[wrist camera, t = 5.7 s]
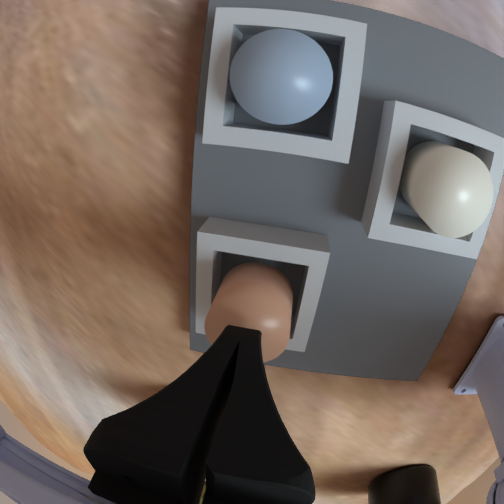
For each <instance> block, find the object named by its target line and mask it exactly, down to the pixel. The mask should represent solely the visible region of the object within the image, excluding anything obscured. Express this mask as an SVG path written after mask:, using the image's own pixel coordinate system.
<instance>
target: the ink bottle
mask: <svg viewBox="0 0 504 504" xmlns="http://www.w3.org/2000/svg"><path fill="white" fill-rule="evenodd" d="M368 504H441V501H440V494H439V487H438V481H437V475H436V471H435V469H434V468H433V467H431V466H426V465H420V466H412V467H407V468H402V469H398V470H394V471H391V472H388V473H385V474H383V475H381V476H379V477H377V478H376V479H374V480H373V481H372V482H371V483H370V485H369V487H368Z"/></svg>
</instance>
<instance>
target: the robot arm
mask: <svg viewBox="0 0 504 504" xmlns="http://www.w3.org/2000/svg"><path fill="white" fill-rule="evenodd" d="M261 336H262V333H261V331H260V330H255V329H249V328H244V327H238V326H233V325H227V326H226V327H225V328H224V330H223V331H222V333H221V334H220V335H219V337H218V338H217V339H216V340H215V342H214V343H213V344H212V345H211V346H210V348H209V349H208V350H207V351H206V352H205V353H204V354H203V355H202V356H201V357H200V358H199V359H198V360H197V361H196V362H195V363H194V364H193V365H192V366H191V367H190V368H189V369H188V370H187V371H186V372H184V373H183V374H182V375H181V376H180V377H178V378H177V379H176V380H175V381H173V382H172V383H171V384H169V385H168V386H166V387H165V388H164V389H162V390H161V391H159V392H158V393H156V394H155V395H153V396H151V397H150V398H148V399H146V400H144V401H142V402H140V403H139V404H137V405H135V406H133V407H131V408H129V409H127V410H125V411H122V412H120V413H117V414H115V415H112V416H110V417H107V418H104V419H102V421H101V422H100V423H99V424H98V426H97V427H96V428H95V430H94V431H93V432H92V434H91V436H90V438H89V439H88V441H87V443H86V445H85V447H84V450H83V451H84V454H85V456H86V458H87V459H88V461H89V462H90V464H91V465H92V466H93V468H94V469H95V473H94V475H93V477H92V479H91V481H89V480H87V479H85V478H83V477H80V476H79V475H77V474H74V473H72V472H70V471H69V470H67V469H65V468H63V467H61V466H59V465H57V464H55V463H54V462H52V461H50V460H48V459H46V458H45V457H43V456H41V455H40V454H38V453H36V452H34V451H33V450H31V449H30V448H28V447H26V446H24V445H23V444H22V443H20V442H18V441H17V440H15V439H14V438H12V437H11V436H9V435H8V434H7V433H6V432H5V431H4V429H3V428H2V426H1V425H0V491H2V492H3V493H4V494H6V495H7V496H8V497H10V498H11V499H12V500H14V501H15V502H17V503H18V504H199V503H200V499H201V495H202V491H203V487H204V483H205V478H206V490H205V494H204V497H203V501H202V504H312V503H313V502H314V500H315V485H314V480H313V476H312V472H311V469H310V466H309V465H308V463H307V462H306V461H305V459H304V458H303V456H302V455H301V453H300V452H299V450H298V449H297V447H296V446H295V444H294V442H293V441H292V439H291V437H290V435H289V433H288V431H287V429H286V427H285V425H284V424H283V422H282V420H281V417H280V415H279V413H278V410H277V408H276V405H275V403H274V400H273V397H272V394H271V391H270V388H269V384H268V381H267V377H266V373H265V368H264V363H263V357H262V348H261ZM453 392H454V394H478V396H479V399H480V402H481V404H482V407H483V409H484V412H485V415H486V418H487V421H488V423H489V426H490V429H491V432H492V435H493V438H494V441H495V444H496V448H497V451H498V454H499V458H500V461H501V465H499V466H498V467H497V468H496V469H495V470H494V473H495V477H496V481H495V482H494V483H493V484H492V486H491V487H490V490H489V493H488V496H487V503H486V504H504V316H499V317H497V318H496V319H495V321H494V323H493V325H492V326H491V328H490V330H489V332H488V334H487V336H486V337H485V339H484V341H483V343H482V344H481V346H480V348H479V349H478V351H477V353H476V354H475V356H474V358H473V359H472V361H471V362H470V364H469V366H468V367H467V369H466V370H465V372H464V373H463V375H462V376H461V378H460V379H459V381H458V382H457V384H456V385H455V387H454V388H453Z"/></svg>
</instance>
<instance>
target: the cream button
mask: <svg viewBox="0 0 504 504" xmlns="http://www.w3.org/2000/svg"><path fill="white" fill-rule="evenodd" d="M399 187H400V191H401V194H402V196H403V198H404V199H405V201H406V202H407V203H408V204H409V205H410V206H411V208H412V209H413V210H414V211H415V212H416V213H417V214H418V215H419V216H420V217H421V218H422V220H423V221H424V222H425V223H426V224H427V225H428V226H429V227H430V228H431V229H432V230H433V231H434V232H436V233H437V234H439V235H441V236H444V237H448V238H459V237H463V236H466V235H468V234H470V233H472V232H473V231H475V230H476V229H477V228H478V227H479V226H480V225H481V224H482V223H483V222H484V220H485V219H486V217H487V215H488V213H489V211H490V208H491V205H492V201H493V182H492V178H491V175H490V172H489V170H488V168H487V167H486V165H485V164H484V163H483V162H482V160H481V159H479V158H478V157H477V156H475V155H474V154H472V153H469V152H467V151H464V150H461V149H459V148H456V147H453V146H450V145H447V144H444V143H442V142H438V141H425V142H422V143H419V144H417V145H416V146H414V147H413V148H411V149H410V150H409V151H408V153H407V154H406V155H405V159H404V164H403V169H402V174H401V178H400V183H399Z"/></svg>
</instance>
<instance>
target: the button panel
mask: <svg viewBox="0 0 504 504" xmlns="http://www.w3.org/2000/svg"><path fill="white" fill-rule="evenodd" d="M272 29H288V30H294V31H297V32H300V33H302V34H305V35H307V36H308V37H310V38H312V39H313V40H314V41H315V42H317V43H318V44H319V45H320V46H321V47H322V49H323V50H324V51H325V53H326V55H327V56H328V58H329V61H330V63H331V67H332V71H333V84H332V89H331V92H330V95H329V97H328V99H327V101H326V102H325V104H324V105H323V106H322V108H321V109H320V110H319V111H318V112H316V113H315V114H314V115H313V116H311V117H309V118H308V119H305V120H303V121H301V122H297V123H293V124H286V125H279V124H271V123H267V122H264V121H261V120H259V119H257V118H255V117H253V116H252V115H250V114H249V113H248V112H246V111H245V110H244V109H243V108H242V107H241V106H240V104H239V103H238V101H237V100H236V98H235V96H234V94H233V92H232V89H231V85H230V67H231V63H232V60H233V58H234V56H235V54H236V52H237V51H238V49H239V48H240V47H241V46H242V45H243V43H245V42H246V41H247V40H248V39H250V38H251V37H253V36H254V35H256V34H258V33H261V32H264V31H267V30H272ZM425 141H438V142H442V143H444V144H447V145H450V146H453V147H456V148H459V149H461V150H464V151H467V152H469V153H472V154H474V155H475V156H477V157H478V158H479V159H481V160H482V162H483V163H484V164H485V165H486V167H487V168H488V170H489V172H490V175H491V178H492V182H493V201H492V205H491V208H490V211H489V213H488V215H487V217H486V219H485V220H484V222H483V223H482V224H481V225H480V226H479V227H478V228H477V229H476V230H475V231H473V232H472V233H470V234H468V235H466V236H463V237H459V238H448V237H444V236H441V235H439V234H437V233H436V232H434V231H433V230H432V229H431V228H430V227H429V226H428V225H427V224H426V223H425V222H424V221H423V220H422V218H421V217H420V216H419V215H418V214H417V213H416V212H415V211H414V210H413V209H412V208H411V206H410V205H409V204H408V203H407V202H406V201H405V199H404V198H403V196H402V194H401V191H400V187H399V183H400V178H401V174H402V169H403V164H404V159H405V155H406V154H407V153H408V151H409V150H410V149H411V148H413V147H414V146H416V145H417V144H419V143H422V142H425ZM503 172H504V58H502V57H500V56H498V55H496V54H494V53H492V52H490V51H488V50H486V49H484V48H482V47H480V46H477V45H475V44H473V43H471V42H469V41H466V40H464V39H462V38H459V37H457V36H454V35H452V34H449V33H447V32H444V31H442V30H439V29H436V28H434V27H431V26H428V25H425V24H422V23H419V22H416V21H413V20H410V19H407V18H403V17H400V16H396V15H393V14H389V13H386V12H382V11H378V10H374V9H370V8H365V7H361V6H356V5H352V4H347V3H341V2H336V1H330V0H209V5H208V12H207V20H206V28H205V36H204V44H203V53H202V62H201V71H200V81H199V92H198V103H197V115H196V128H195V142H194V158H193V175H192V197H191V224H190V278H189V308H190V350H194V351H199V352H203V353H205V352H206V351H207V350H208V349H209V348H210V346H211V344H210V342H209V341H208V339H207V337H206V334H205V329H204V323H205V319H206V316H207V314H208V311H209V309H210V307H211V305H212V303H213V300H214V298H215V296H216V294H217V292H218V289H219V287H220V285H221V283H222V281H223V279H224V277H225V275H226V274H227V273H228V272H229V271H230V270H231V269H232V268H234V267H236V266H238V265H240V264H244V263H249V262H258V263H264V264H268V265H270V266H272V267H275V268H276V269H278V270H279V271H281V272H282V273H283V274H284V275H285V276H286V277H287V279H288V280H289V282H290V284H291V286H292V290H293V305H292V316H291V326H290V337H289V342H288V345H287V347H286V349H285V350H284V351H283V352H282V353H281V354H280V355H279V356H278V357H276V358H275V359H273V360H270V361H268V362H264V364H265V365H271V366H277V367H283V368H290V369H297V370H304V371H311V372H319V373H327V374H335V375H344V376H354V377H364V378H376V379H390V380H406V381H417V380H418V379H419V377H420V375H421V374H422V372H423V370H424V369H425V367H426V365H427V364H428V362H429V360H430V358H431V357H432V355H433V353H434V351H435V349H436V348H437V346H438V344H439V342H440V340H441V338H442V336H443V334H444V332H445V330H446V328H447V326H448V324H449V322H450V320H451V318H452V316H453V314H454V312H455V310H456V308H457V306H458V304H459V301H460V299H461V297H462V295H463V292H464V290H465V288H466V285H467V283H468V281H469V278H470V276H471V273H472V271H473V268H474V266H475V263H476V261H477V258H478V255H479V253H480V250H481V247H482V244H483V241H484V239H485V236H486V233H487V230H488V227H489V223H490V220H491V217H492V214H493V210H494V207H495V203H496V200H497V196H498V193H499V189H500V185H501V181H502V177H503Z"/></svg>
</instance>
